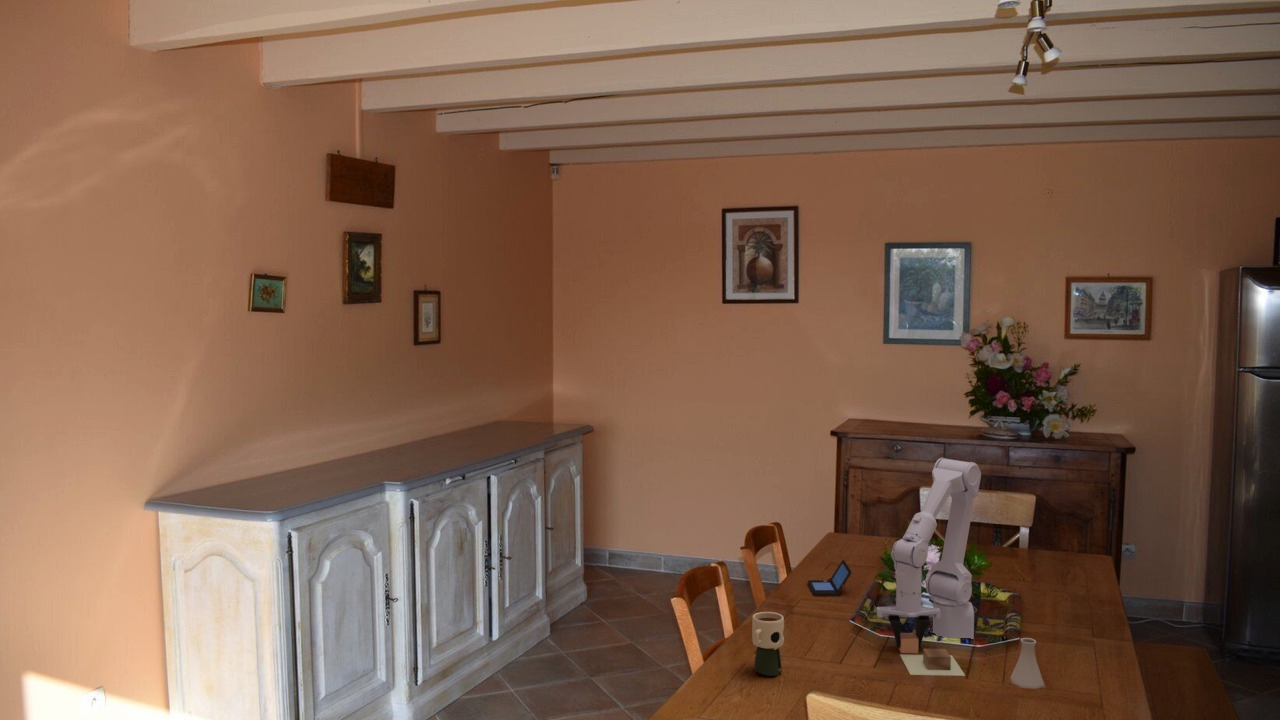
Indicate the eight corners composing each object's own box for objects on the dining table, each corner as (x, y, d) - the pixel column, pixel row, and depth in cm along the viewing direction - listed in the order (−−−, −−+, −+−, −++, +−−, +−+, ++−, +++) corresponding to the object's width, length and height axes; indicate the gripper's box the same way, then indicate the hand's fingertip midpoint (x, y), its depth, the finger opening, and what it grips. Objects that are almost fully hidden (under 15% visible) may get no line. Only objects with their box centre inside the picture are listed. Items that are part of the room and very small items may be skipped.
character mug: (769, 684, 215) (769, 626, 214) (741, 676, 219) (741, 620, 219) (793, 669, 224) (793, 613, 223) (766, 661, 228) (766, 607, 227)
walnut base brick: (945, 661, 226) (945, 648, 226) (950, 670, 221) (950, 657, 221) (923, 661, 226) (923, 648, 226) (927, 669, 221) (928, 656, 221)
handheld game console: (806, 584, 288) (806, 559, 288) (843, 583, 288) (843, 559, 288) (813, 597, 276) (813, 571, 275) (851, 597, 276) (852, 571, 275)
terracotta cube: (914, 649, 235) (914, 633, 235) (918, 655, 231) (918, 639, 231) (897, 649, 236) (897, 633, 235) (901, 655, 232) (901, 638, 231)
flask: (1003, 679, 217) (1004, 635, 217) (1035, 677, 218) (1036, 633, 217) (1019, 692, 210) (1020, 646, 209) (1051, 691, 211) (1052, 645, 210)
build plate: (951, 657, 230) (951, 655, 230) (965, 678, 218) (965, 675, 218) (899, 656, 231) (899, 654, 231) (910, 677, 219) (910, 674, 219)
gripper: (880, 595, 229) (880, 652, 230) (944, 596, 228) (943, 653, 229) (875, 586, 236) (874, 641, 237) (936, 587, 235) (936, 642, 236)
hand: (908, 646), depth 233 cm, fingers closed on terracotta cube, 4 cm apart
